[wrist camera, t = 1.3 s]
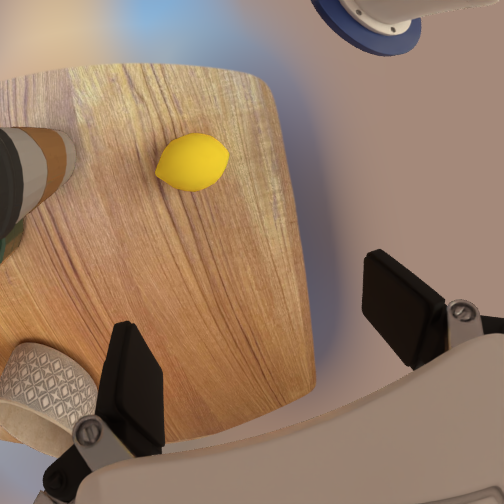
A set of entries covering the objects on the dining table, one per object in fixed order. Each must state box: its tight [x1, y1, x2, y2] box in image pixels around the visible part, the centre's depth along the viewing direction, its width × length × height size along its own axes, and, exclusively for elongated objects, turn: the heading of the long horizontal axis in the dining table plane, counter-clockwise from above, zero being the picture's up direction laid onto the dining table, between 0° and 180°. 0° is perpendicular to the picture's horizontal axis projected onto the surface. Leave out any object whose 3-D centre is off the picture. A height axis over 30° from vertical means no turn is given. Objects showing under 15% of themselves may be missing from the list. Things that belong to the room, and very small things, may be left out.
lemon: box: [155, 133, 229, 192], centre depth 24 cm, size 7×5×5 cm
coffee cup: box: [0, 127, 76, 240], centre depth 16 cm, size 8×8×15 cm
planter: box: [0, 343, 98, 458], centre depth 28 cm, size 16×16×13 cm
